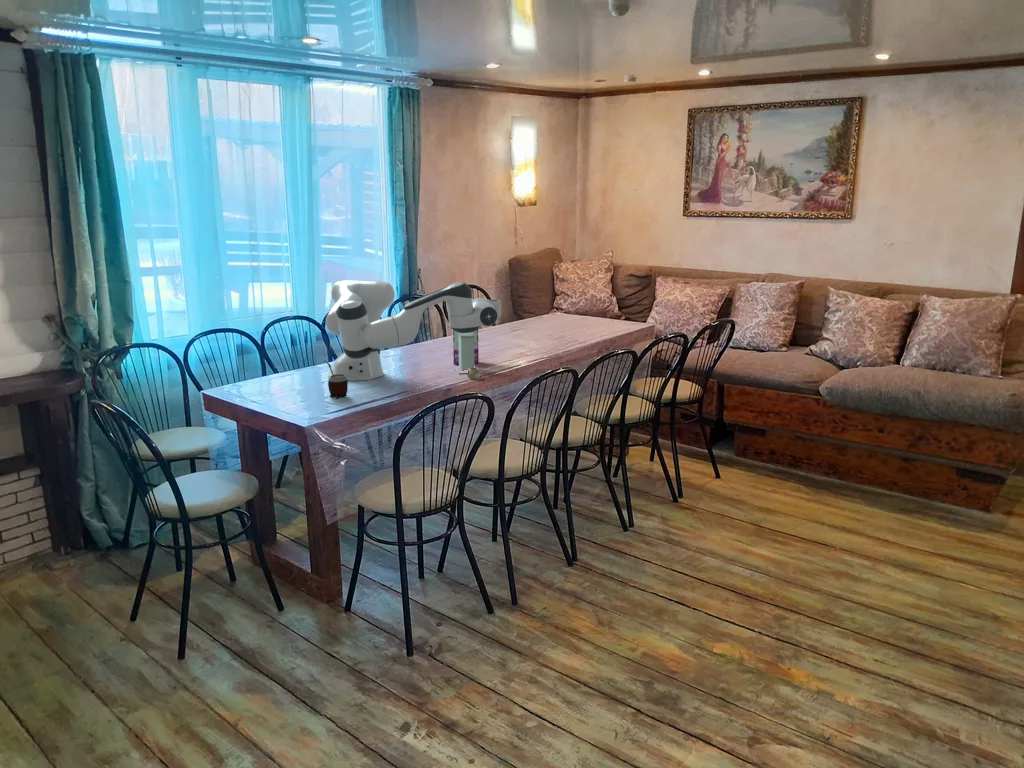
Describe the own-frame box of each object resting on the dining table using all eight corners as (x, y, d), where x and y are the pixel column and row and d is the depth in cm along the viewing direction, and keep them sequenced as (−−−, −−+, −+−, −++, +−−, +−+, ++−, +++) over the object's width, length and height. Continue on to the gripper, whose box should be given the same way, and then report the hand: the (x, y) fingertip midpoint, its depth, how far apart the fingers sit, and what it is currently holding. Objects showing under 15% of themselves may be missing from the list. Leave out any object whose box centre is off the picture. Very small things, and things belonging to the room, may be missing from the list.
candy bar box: (477, 361, 341) (477, 325, 336) (478, 364, 336) (478, 327, 332) (452, 362, 339) (451, 325, 334) (453, 365, 334) (453, 328, 330)
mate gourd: (349, 394, 288) (347, 355, 284) (346, 400, 280) (344, 360, 276) (329, 394, 287) (327, 355, 283) (325, 400, 280) (323, 360, 276)
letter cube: (469, 379, 310) (469, 369, 309) (467, 377, 314) (467, 367, 313) (479, 379, 311) (479, 369, 310) (477, 376, 315) (477, 366, 314)
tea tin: (461, 371, 322) (460, 336, 318) (458, 367, 327) (458, 333, 323) (474, 370, 323) (474, 335, 320) (471, 367, 329) (471, 332, 325)
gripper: (452, 318, 293) (446, 312, 306) (504, 316, 298) (495, 311, 311) (452, 302, 291) (446, 297, 304) (504, 300, 296) (496, 295, 309)
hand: (471, 304), depth 307 cm, fingers open, 8 cm apart
